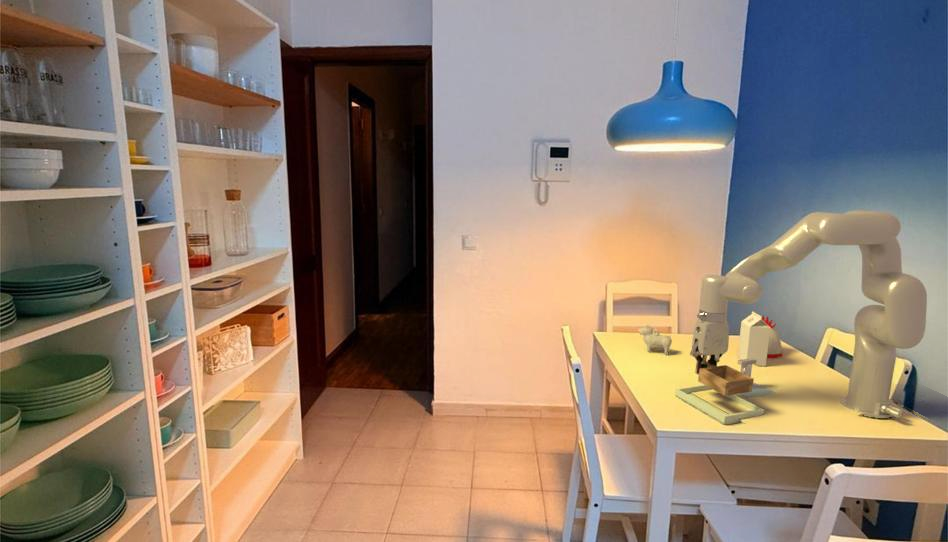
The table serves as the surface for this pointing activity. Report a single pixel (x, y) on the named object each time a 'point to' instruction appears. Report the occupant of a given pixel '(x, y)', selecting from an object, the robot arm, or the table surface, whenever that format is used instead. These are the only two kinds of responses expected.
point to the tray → (713, 410)
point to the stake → (746, 365)
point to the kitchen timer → (773, 341)
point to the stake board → (757, 391)
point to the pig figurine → (655, 338)
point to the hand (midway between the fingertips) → (706, 373)
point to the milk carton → (754, 339)
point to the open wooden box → (724, 379)
